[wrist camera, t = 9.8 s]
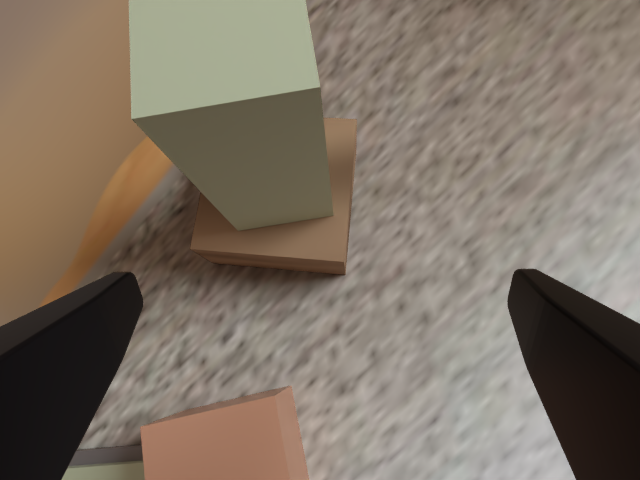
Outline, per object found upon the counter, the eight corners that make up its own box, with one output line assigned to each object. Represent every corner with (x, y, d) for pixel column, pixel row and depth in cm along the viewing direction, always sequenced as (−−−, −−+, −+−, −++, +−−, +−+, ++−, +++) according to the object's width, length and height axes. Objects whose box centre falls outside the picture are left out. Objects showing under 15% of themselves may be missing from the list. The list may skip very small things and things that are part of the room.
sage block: (333, 215, 20) (320, 87, 10) (238, 231, 20) (131, 119, 10) (319, 129, 22) (294, -59, 12) (229, 145, 22) (128, -29, 12)
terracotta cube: (314, 506, 20) (303, 556, 15) (201, 532, 20) (154, 589, 16) (291, 385, 22) (274, 395, 17) (186, 409, 22) (140, 426, 17)
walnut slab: (345, 275, 24) (344, 261, 20) (215, 264, 24) (189, 248, 20) (356, 153, 26) (356, 119, 22) (235, 147, 26) (215, 112, 23)
